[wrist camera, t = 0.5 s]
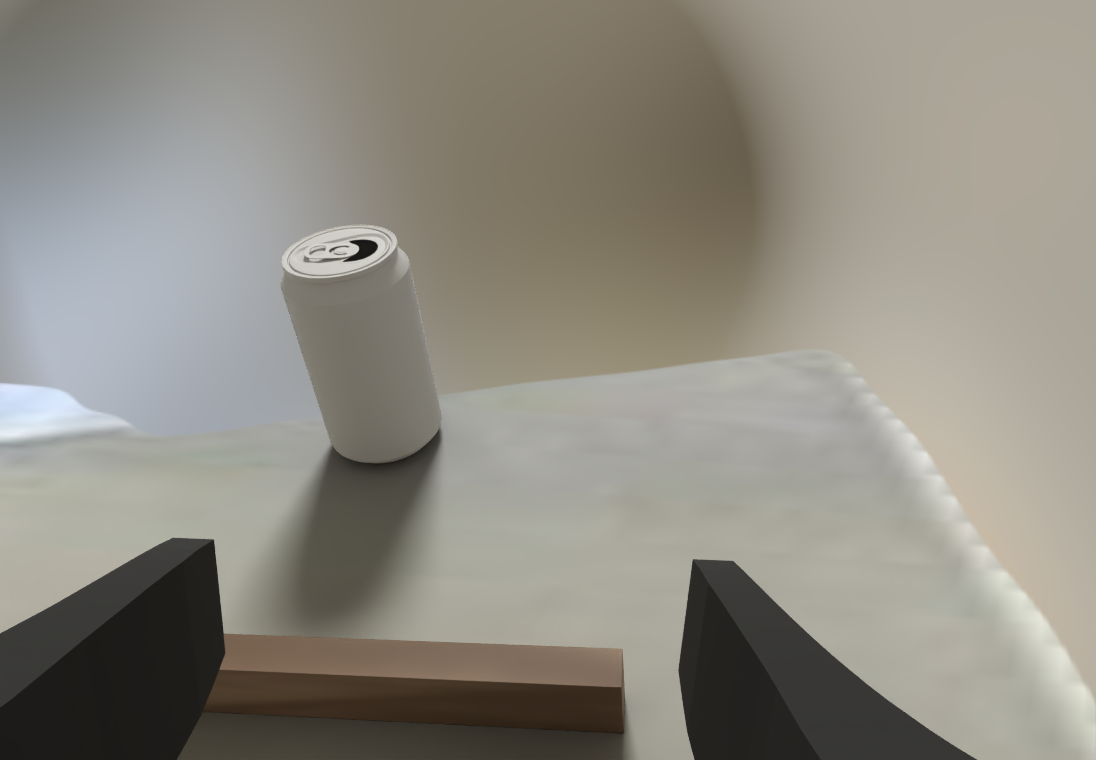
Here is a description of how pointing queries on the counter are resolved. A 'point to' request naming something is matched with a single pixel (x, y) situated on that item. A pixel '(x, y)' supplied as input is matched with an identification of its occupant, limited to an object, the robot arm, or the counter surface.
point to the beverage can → (362, 341)
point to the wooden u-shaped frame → (422, 682)
